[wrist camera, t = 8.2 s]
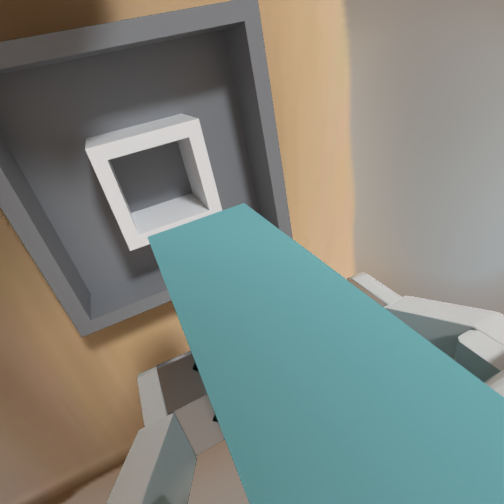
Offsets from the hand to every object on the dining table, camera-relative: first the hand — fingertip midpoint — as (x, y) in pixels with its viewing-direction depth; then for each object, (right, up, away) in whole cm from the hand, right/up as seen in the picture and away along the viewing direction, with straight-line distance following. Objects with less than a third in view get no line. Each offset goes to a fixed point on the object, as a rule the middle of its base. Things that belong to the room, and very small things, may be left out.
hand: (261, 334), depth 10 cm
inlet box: (-9, +9, +19) cm, 23 cm away
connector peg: (-2, +2, +4) cm, 5 cm away
